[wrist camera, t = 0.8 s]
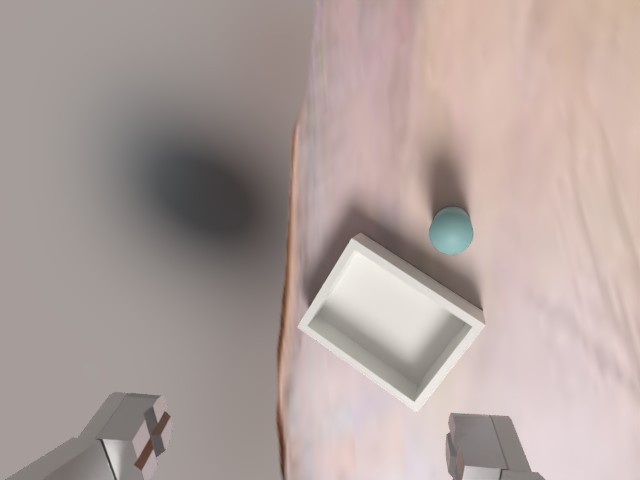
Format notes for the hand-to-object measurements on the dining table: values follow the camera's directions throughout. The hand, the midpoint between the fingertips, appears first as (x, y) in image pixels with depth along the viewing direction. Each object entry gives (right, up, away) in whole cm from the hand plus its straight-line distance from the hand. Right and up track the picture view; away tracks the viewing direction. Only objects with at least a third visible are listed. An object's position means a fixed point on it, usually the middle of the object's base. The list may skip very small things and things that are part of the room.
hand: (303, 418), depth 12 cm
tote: (+10, -5, +43) cm, 44 cm away
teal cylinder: (+17, +7, +39) cm, 43 cm away
